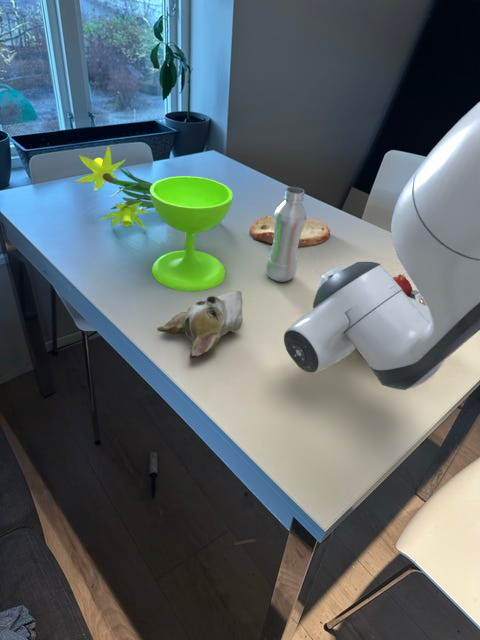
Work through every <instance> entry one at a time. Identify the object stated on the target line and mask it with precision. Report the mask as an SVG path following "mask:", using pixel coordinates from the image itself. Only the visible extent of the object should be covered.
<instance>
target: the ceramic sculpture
mask: <svg viewBox="0 0 480 640" xmlns="http://www.w3.org/2000/svg"><path fill="white" fill-rule="evenodd" d="M243 322H244V319H243V294H242V291H241V290H238V291H234V292H227V293H224V294H222V295H220V296H214V295H209V296H206V298H205V299H204V300H201V301H200V300H199V301H197V302H195V304H193V305H190V306H189V307H188V308H187V309H186V311H181V312H180V313H178V314H176V315H174V316H173V317H172V318H171V319H170V320H168V322H166V324H164V325H162V326H159V327H157V328H156V329H157V331H158V332H161V333H166V334H171V335H179V334H181V333H183V332H185V335H186V336H187V338H188V339H190V340H191V341H192V344H191V346H190V353H189V356H188V359H189V360H195V359H200V358H203V357H205V356H207V355H209V354H210V353H211V352H212V351H213V350H214V349H215V347H217V345H218V343H219V341H220V339H221V337H223V336H225V334H227V333H228V332H232V333H236V332H238V331H239V330H240V329H241V328H242V326H243Z"/></svg>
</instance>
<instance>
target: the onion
mask: <svg viewBox="0 0 480 640" xmlns="http://www.w3.org/2000/svg"><path fill="white" fill-rule="evenodd" d="M397 275H398V276H391V277H392V278H393V279H394V280H395V281H396V283H397V284H398V285H399V286H400V288H401V289H402V290H401V291H403V292H404V293H405V294H406V295H407V296H408V297H410V294H411V292H412V291H414V289H413V287H412V284H411V282H410V281H409V280H408V278H406V275H405V274H404V273H400V274H397Z"/></svg>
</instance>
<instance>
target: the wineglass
mask: <svg viewBox="0 0 480 640" xmlns="http://www.w3.org/2000/svg"><path fill="white" fill-rule="evenodd" d="M152 183H153V184H152V186H151V187H150V194H149V196H151V201H152V203H153V205H154V208H153V209H154V210H155V213H156V214H157V215H158V217H159V218H160V219H161V220H162V221H163V222H164V223H165V224H166V225H167V226H169V227H171V228H172V229H174V230H177V232H181V233H185V242H184V243H185V244H184V245H185V246H184V248H185V249H181V250H175V251H170V252H167V253H165V254H163V255H161V256H159V257H158V258H157V259H156V260H155V261H154V263H153V265H152V267H151V274H152V277H153V279H155V280H156V281H157V282H158V283H159V284H161V285H162V286H164V287H166V288H169V289H172V290H176V291H180V292H181V291H182V292H201V291H207V290H210V289H213V288H215V287H216V286H218V285H221V283H222V282H223V281H224V280H225V278H226V269H225V266H224V264H223V263H222V262H221V261H220V260H219V259H218V258H217V257H215V256H213V255H211V254H209V253H206V252H203V251H200V250H199V251H198V250H195V247H196V246H195V243H196V234H199V233H200V234H201V233H204V232H206V231H209V230H211V229H213V228H215V227H217V225H218V224H220V223H221V222H222V221H223V220H224V219H225V217H226V216H227V214H228V213H229V210H230V208H231V205H232V201H233V198H234V194H233V191H232V189H230V187H229V186H227V185H225V184H224V183H223V182H219V181H217V180H215V179H210V178H207V177H201V176H194V175H177V176H175V175H174V176H169V177H165V178H161V179H159V180H157V181H154V182H152Z"/></svg>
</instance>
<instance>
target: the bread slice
mask: <svg viewBox="0 0 480 640" xmlns="http://www.w3.org/2000/svg"><path fill="white" fill-rule="evenodd" d="M248 235H249V236H250V237H251V238H252V239H253V240H255V241H261V242H264V243H267V244H270V245H273V239H274V216H273V215H270V216H269V215H266V216H263V217H260V218H258V219H257V220H256V221H255V222H253V223H252V225H251V226H250V229H249V232H248ZM330 237H331V230H330V227H328V225H327V224H326V223H325V222H323V221H321V220H315V219H308V218H306V221H305V224H304V227H303V230H302V233H301V236H300V240H299V244H298V248H300V247H312V246H316V245H320V244H323V243H325V242H327V241H328V240H329V239H330Z"/></svg>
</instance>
